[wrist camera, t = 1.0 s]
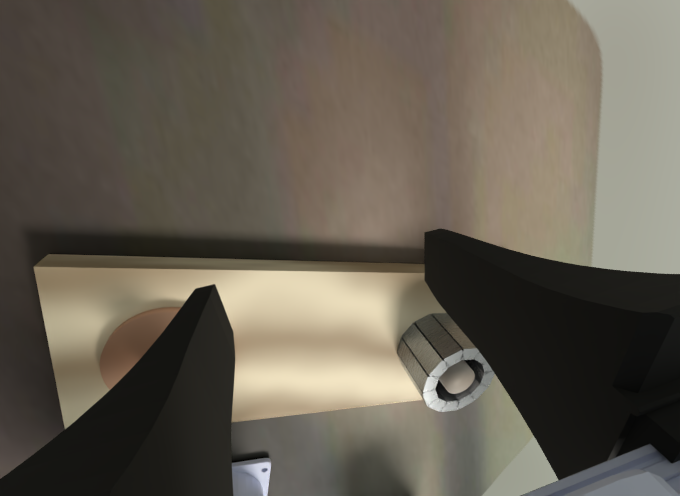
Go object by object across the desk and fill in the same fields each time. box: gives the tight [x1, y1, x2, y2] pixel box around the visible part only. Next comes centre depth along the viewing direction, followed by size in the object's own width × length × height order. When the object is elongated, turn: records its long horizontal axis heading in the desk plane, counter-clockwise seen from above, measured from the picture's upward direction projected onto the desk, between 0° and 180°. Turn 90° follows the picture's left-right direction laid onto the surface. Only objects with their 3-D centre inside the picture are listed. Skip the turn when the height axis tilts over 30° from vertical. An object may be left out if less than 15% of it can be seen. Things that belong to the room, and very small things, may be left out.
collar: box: [397, 313, 495, 412], centre depth 24 cm, size 5×5×4 cm
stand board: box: [34, 254, 475, 429], centre depth 22 cm, size 12×30×6 cm, turn 80°
